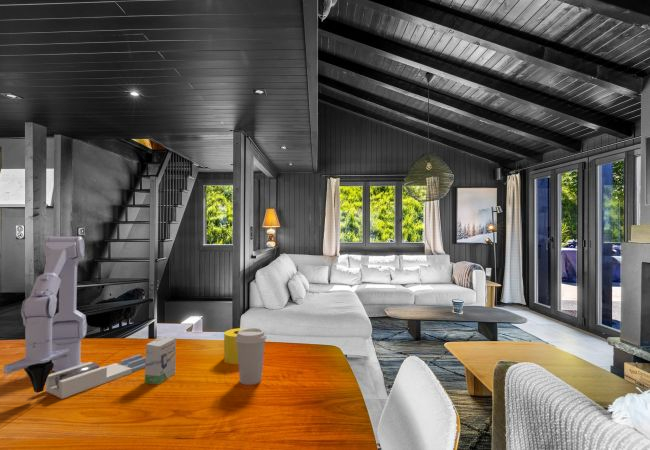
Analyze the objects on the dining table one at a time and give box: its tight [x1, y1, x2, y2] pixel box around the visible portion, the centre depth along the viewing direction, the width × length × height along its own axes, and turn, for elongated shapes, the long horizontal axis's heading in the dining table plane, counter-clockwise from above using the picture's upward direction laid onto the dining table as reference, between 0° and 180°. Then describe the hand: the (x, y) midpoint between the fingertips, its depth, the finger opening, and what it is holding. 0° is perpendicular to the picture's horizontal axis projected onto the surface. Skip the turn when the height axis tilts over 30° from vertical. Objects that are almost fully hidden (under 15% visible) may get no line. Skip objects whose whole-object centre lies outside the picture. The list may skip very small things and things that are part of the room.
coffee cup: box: [235, 327, 267, 386], centre depth 112 cm, size 10×10×15 cm
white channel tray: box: [45, 361, 133, 400], centre depth 110 cm, size 9×20×4 cm, turn 151°
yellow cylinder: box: [223, 327, 246, 365], centre depth 130 cm, size 10×10×9 cm
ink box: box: [144, 336, 177, 386], centre depth 113 cm, size 9×5×12 cm, turn 168°
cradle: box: [119, 353, 146, 373], centre depth 122 cm, size 8×7×2 cm
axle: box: [55, 362, 100, 388], centre depth 106 cm, size 10×4×4 cm, turn 151°
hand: (38, 391), depth 98 cm, fingers closed
